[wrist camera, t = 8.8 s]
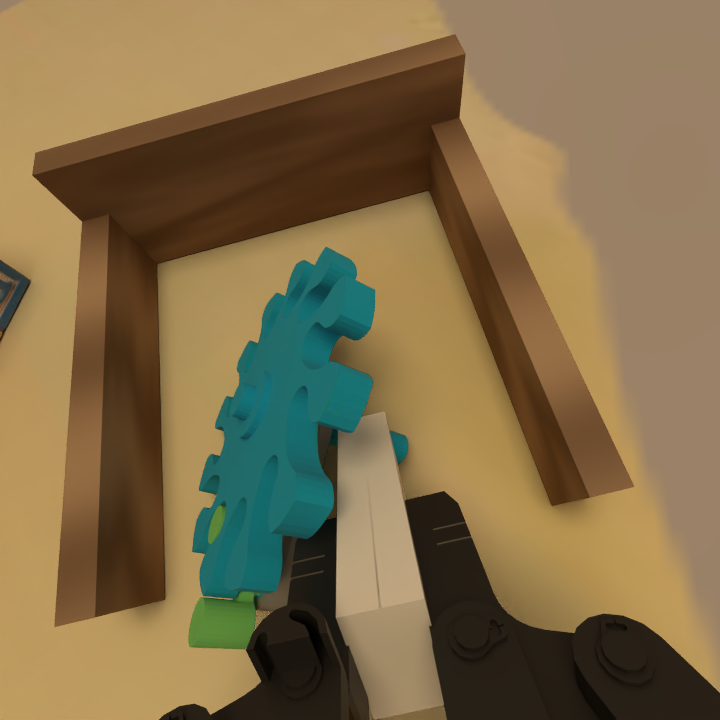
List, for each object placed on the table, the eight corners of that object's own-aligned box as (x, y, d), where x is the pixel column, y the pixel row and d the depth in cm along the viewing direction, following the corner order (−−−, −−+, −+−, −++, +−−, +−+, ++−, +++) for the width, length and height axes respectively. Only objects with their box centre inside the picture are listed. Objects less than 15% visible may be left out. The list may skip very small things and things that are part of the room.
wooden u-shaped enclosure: (586, 497, 14) (690, 474, 9) (132, 607, 15) (-35, 649, 9) (445, 165, 21) (455, 34, 15) (134, 250, 21) (35, 152, 16)
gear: (243, 295, 18) (362, 166, 9) (359, 344, 20) (536, 279, 12) (146, 576, 14) (194, 777, 6) (299, 592, 17) (486, 749, 9)
